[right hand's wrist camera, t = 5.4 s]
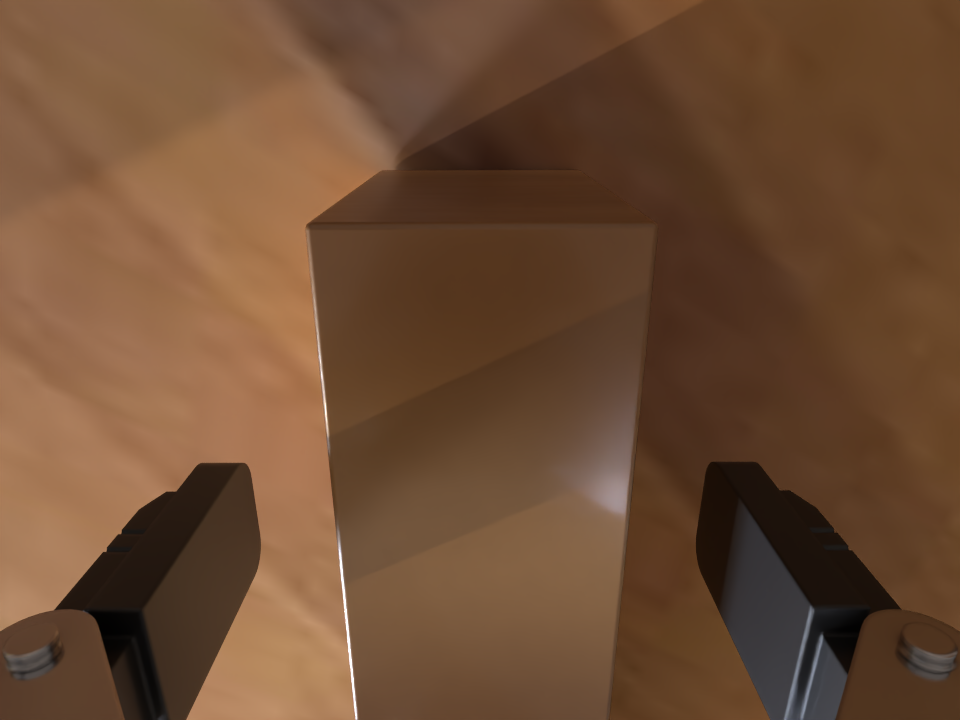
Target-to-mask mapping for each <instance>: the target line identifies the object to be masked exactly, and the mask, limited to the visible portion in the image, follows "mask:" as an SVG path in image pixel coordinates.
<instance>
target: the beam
mask: <svg viewBox="0 0 960 720" xmlns="http://www.w3.org/2000/svg"><path fill="white" fill-rule="evenodd" d="M305 233H306V243H307V252H308V262H309V272H310V282H311V291H312V301H313V311H314V321H315V330H316V340H317V350H318V360H319V369H320V379H321V389H322V399H323V408H324V418H325V428H326V438H327V447H328V457H329V467H330V477H331V487H332V496H333V506H334V516H335V526H336V535H337V545H338V555H339V565H340V574H341V584H342V594H343V604H344V613H345V623H346V633H347V643H348V652H349V662H350V672H351V682H352V691H353V701H354V711H355V720H609V718H610V708H611V698H612V688H613V678H614V668H615V658H616V648H617V638H618V628H619V618H620V608H621V598H622V588H623V578H624V568H625V558H626V548H627V538H628V528H629V518H630V508H631V498H632V488H633V478H634V468H635V458H636V448H637V438H638V428H639V418H640V408H641V398H642V388H643V378H644V368H645V358H646V348H647V338H648V328H649V318H650V308H651V298H652V288H653V278H654V268H655V258H656V248H657V238H658V226H657V223H656V222H654V221H653V220H651V219H650V218H648V217H647V216H645V215H644V214H643V213H641V212H640V211H638V210H637V209H635V208H634V207H632V206H631V205H629V204H628V203H626V202H625V201H624V200H622V199H621V198H619V197H618V196H616V195H615V194H613V193H612V192H610V191H609V190H607V189H606V188H605V187H603V186H602V185H600V184H599V183H597V182H596V181H594V180H593V179H591V178H590V177H588V176H587V175H586V174H584V173H583V172H581V171H579V170H382V171H380V172H379V173H377V174H376V175H374V176H373V177H372V178H370V179H369V180H367V181H366V182H365V183H363V184H362V185H360V186H359V187H358V188H356V189H355V190H354V191H352V192H351V193H349V194H348V195H347V196H345V197H344V198H342V199H341V200H340V201H338V202H337V203H336V204H334V205H333V206H331V207H330V208H329V209H327V210H326V211H324V212H323V213H322V214H320V215H319V216H317V217H316V218H315V219H313V220H312V221H311V222H309V223H308V224H307V225H306V228H305Z"/></svg>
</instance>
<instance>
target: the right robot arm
mask: <svg viewBox="0 0 960 720" xmlns="http://www.w3.org/2000/svg"><path fill="white" fill-rule="evenodd" d="M260 551H261V539H260V531H259V525H258V518H257V511H256V504H255V498H254V491H253V484H252V478H251V473H250V470H249V467H248V466H247V464H245V463H200V464H198V465H197V466H196V467H195V469H194V470H193V471H192V472H191V474H190V475H189V476H188V478H187V479H186V480H185V481H184V483H183V484H182V485H181V486H180V488H179V489H178V490H177V491H176V492H165V493H164V494H162V495H161V496H159V497H158V498H156V499H154V500H153V501H151V502H150V503H148V504H147V505H145V506H144V507H142V508H141V509H139V510H138V511H137V513H136V514H135V515H134V516H133V517H132V519H131V520H130V521H129V522H128V523H127V525H126V526H125V527H124V528H123V529H122V533H121V534H118V535H117V536H116V538H115V539H114V540H113V541H112V542H111V543H110V545H109V546H108V547H107V552H103V553H102V554H101V555H100V556H99V558H98V559H97V560H96V561H95V562H94V564H93V565H92V566H91V567H90V568H89V569H88V571H87V572H86V573H85V574H84V575H83V577H82V578H81V579H80V580H79V581H78V582H77V584H76V585H75V586H74V587H73V588H72V590H71V591H70V592H69V593H68V594H67V596H66V597H65V598H64V599H63V600H62V601H61V603H60V604H59V605H58V606H57V607H56V609H55V610H54V611H48V612H44V613H40V614H37V615H34V616H31V617H28V618H26V619H23V620H21V621H18V622H16V623H15V624H13V625H11V626H9V627H7V628H5V629H4V630H2V631H0V720H186V719H187V717H188V714H189V712H190V710H191V708H192V706H193V704H194V702H195V700H196V698H197V696H198V694H199V691H200V689H201V687H202V685H203V683H204V681H205V679H206V677H207V675H208V673H209V671H210V669H211V666H212V664H213V662H214V660H215V658H216V656H217V654H218V652H219V650H220V648H221V646H222V644H223V641H224V639H225V637H226V635H227V633H228V631H229V629H230V627H231V625H232V623H233V621H234V618H235V616H236V614H237V612H238V610H239V608H240V606H241V604H242V602H243V600H244V598H245V596H246V593H247V591H248V589H249V587H250V585H251V583H252V581H253V579H254V577H255V574H256V572H257V569H258V565H259V560H260ZM696 553H697V560H698V565H699V568H700V571H701V574H702V576H703V578H704V580H705V583H706V585H707V587H708V589H709V591H710V593H711V595H712V597H713V599H714V602H715V604H716V606H717V608H718V610H719V612H720V614H721V616H722V618H723V621H724V623H725V625H726V627H727V629H728V631H729V633H730V635H731V637H732V640H733V642H734V644H735V646H736V648H737V650H738V652H739V654H740V656H741V659H742V661H743V663H744V665H745V667H746V669H747V671H748V673H749V675H750V678H751V680H752V682H753V684H754V686H755V688H756V690H757V692H758V694H759V697H760V699H761V701H762V703H763V705H764V707H765V709H766V711H767V713H768V716H769V718H770V720H960V631H958V630H956V629H955V628H953V627H951V626H949V625H947V624H945V623H944V622H942V621H939V620H937V619H934V618H932V617H929V616H926V615H923V614H920V613H916V612H912V611H906V610H901V608H900V607H899V606H898V605H897V604H896V602H895V601H894V600H893V599H892V598H891V596H890V595H889V594H888V593H887V592H886V590H885V589H884V588H883V587H882V586H881V584H880V583H879V582H878V581H877V580H876V578H875V577H874V576H873V575H872V574H871V572H870V571H869V570H868V569H867V568H866V567H865V565H864V564H863V563H862V562H861V561H860V559H859V558H858V557H857V556H856V555H855V553H854V552H853V551H852V550H849V549H848V545H847V544H846V543H845V541H844V540H843V539H842V538H841V537H840V535H839V534H838V533H834V528H833V527H832V526H831V525H830V524H829V522H828V521H827V520H826V519H825V518H824V516H823V515H822V514H821V513H820V512H819V510H818V509H817V508H816V507H814V506H813V505H811V504H810V503H808V502H806V501H805V500H803V499H802V498H800V497H799V496H797V495H796V494H794V493H793V492H791V491H790V490H779V489H778V488H777V487H776V485H775V484H774V483H773V481H772V480H771V479H770V478H769V476H768V475H767V474H766V472H765V471H764V470H763V469H762V467H761V466H760V465H759V464H758V463H756V462H711V463H710V464H709V465H708V467H707V470H706V474H705V480H704V487H703V494H702V501H701V508H700V514H699V521H698V528H697V535H696Z"/></svg>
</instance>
